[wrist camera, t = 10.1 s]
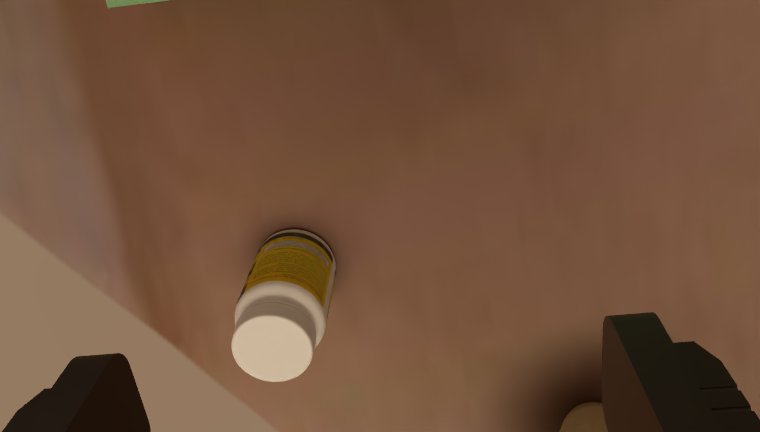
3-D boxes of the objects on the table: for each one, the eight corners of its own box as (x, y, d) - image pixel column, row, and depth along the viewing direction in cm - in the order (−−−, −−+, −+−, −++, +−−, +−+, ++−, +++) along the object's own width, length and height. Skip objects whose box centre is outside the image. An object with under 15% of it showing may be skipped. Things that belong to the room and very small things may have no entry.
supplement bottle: (249, 231, 40) (212, 312, 32) (329, 222, 40) (311, 303, 32) (265, 301, 42) (234, 392, 35) (342, 293, 42) (328, 385, 34)
